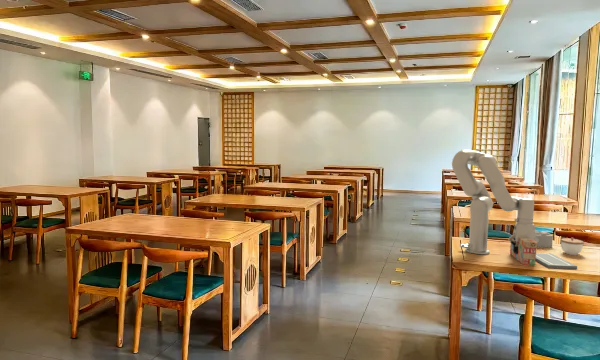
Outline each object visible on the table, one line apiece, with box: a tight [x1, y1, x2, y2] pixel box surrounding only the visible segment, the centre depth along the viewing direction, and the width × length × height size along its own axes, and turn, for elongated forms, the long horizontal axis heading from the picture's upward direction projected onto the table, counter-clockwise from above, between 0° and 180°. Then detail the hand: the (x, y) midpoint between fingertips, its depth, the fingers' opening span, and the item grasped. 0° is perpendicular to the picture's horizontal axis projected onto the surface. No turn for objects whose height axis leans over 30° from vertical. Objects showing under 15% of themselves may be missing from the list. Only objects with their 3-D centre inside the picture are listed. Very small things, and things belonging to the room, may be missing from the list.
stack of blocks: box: [509, 238, 538, 266], centre depth 224 cm, size 21×6×12 cm, turn 170°
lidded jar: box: [560, 237, 584, 256], centre depth 238 cm, size 11×11×9 cm
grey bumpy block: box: [535, 229, 554, 248], centre depth 257 cm, size 10×13×9 cm
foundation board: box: [535, 252, 578, 270], centre depth 221 cm, size 14×24×2 cm, turn 177°
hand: (522, 253), depth 224 cm, fingers closed on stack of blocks, 6 cm apart
